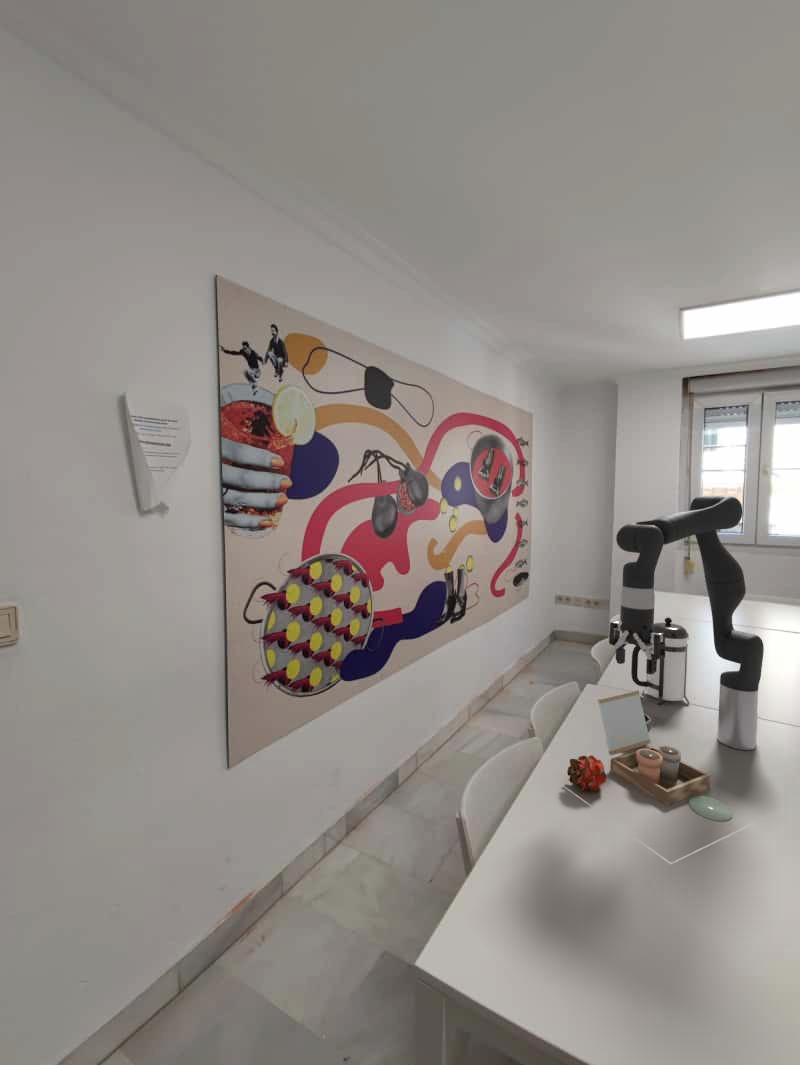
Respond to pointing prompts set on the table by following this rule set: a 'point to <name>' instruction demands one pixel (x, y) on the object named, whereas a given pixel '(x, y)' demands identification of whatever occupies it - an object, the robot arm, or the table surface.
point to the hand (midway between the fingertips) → (635, 668)
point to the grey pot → (669, 762)
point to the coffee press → (666, 665)
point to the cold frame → (661, 779)
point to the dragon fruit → (587, 773)
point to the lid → (624, 722)
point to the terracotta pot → (649, 764)
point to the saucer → (710, 808)
